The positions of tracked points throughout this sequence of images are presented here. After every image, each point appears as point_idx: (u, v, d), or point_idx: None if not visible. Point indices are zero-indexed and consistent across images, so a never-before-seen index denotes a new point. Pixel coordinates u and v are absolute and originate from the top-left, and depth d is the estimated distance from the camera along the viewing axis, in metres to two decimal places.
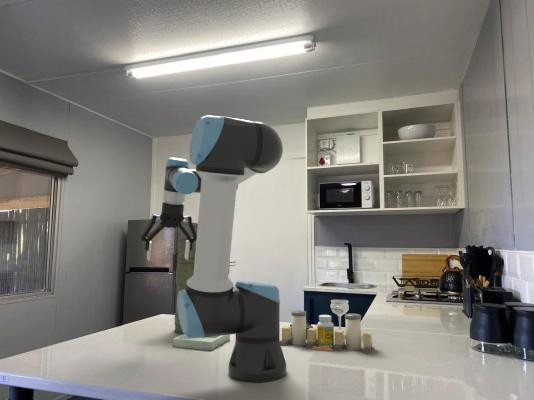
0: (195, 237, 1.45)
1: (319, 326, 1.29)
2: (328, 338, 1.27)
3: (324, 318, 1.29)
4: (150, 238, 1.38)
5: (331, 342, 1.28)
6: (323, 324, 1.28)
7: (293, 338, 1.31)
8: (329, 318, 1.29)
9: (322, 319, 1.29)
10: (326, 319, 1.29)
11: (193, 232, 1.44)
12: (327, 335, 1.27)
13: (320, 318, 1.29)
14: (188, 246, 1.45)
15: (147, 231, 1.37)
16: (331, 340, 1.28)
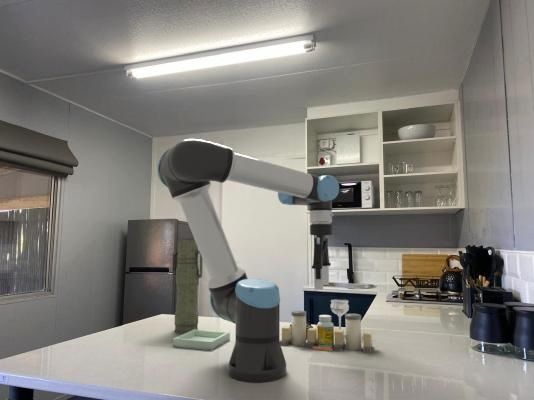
0: None
1: (319, 326, 1.29)
2: (328, 338, 1.27)
3: (324, 318, 1.29)
4: None
5: (331, 342, 1.28)
6: (323, 324, 1.28)
7: (293, 338, 1.31)
8: (329, 318, 1.29)
9: (322, 319, 1.29)
10: (326, 319, 1.29)
11: (314, 256, 1.26)
12: (327, 335, 1.27)
13: (320, 318, 1.29)
14: None
15: None
16: (331, 340, 1.28)
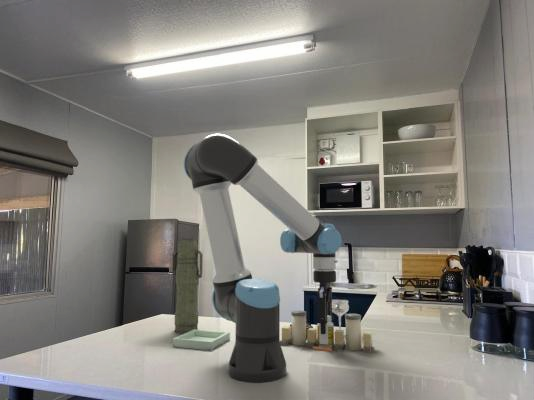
0: None
1: None
2: (328, 338, 1.27)
3: None
4: None
5: (331, 342, 1.28)
6: None
7: (293, 338, 1.31)
8: (329, 318, 1.29)
9: None
10: None
11: (318, 310, 1.26)
12: None
13: None
14: None
15: None
16: (331, 340, 1.28)
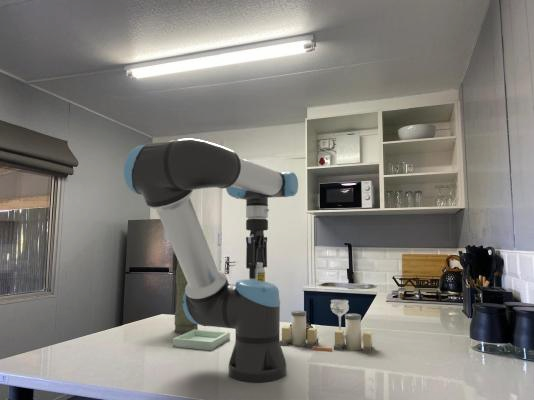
0: None
1: None
2: None
3: None
4: None
5: None
6: None
7: (293, 338, 1.31)
8: (260, 264, 1.33)
9: None
10: None
11: None
12: None
13: None
14: None
15: None
16: None
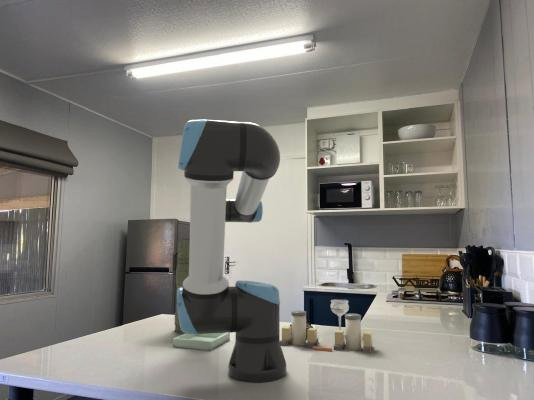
0: None
1: None
2: None
3: None
4: None
5: None
6: None
7: (293, 338, 1.31)
8: None
9: None
10: None
11: None
12: None
13: None
14: None
15: None
16: None
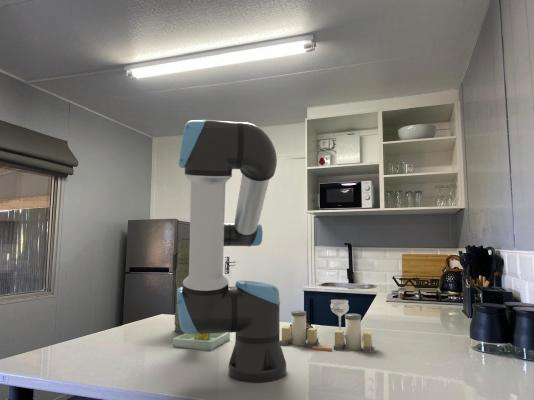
0: None
1: None
2: (202, 334, 1.31)
3: None
4: None
5: (205, 337, 1.31)
6: None
7: (293, 338, 1.31)
8: None
9: None
10: None
11: None
12: None
13: None
14: None
15: None
16: (205, 335, 1.31)
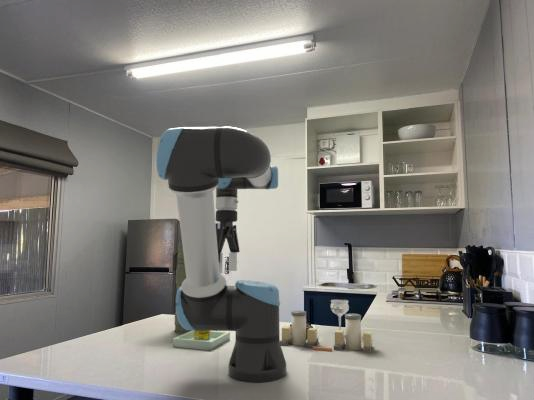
0: None
1: None
2: (202, 334, 1.31)
3: None
4: None
5: (205, 338, 1.31)
6: None
7: (293, 338, 1.31)
8: None
9: None
10: None
11: None
12: (201, 331, 1.31)
13: None
14: None
15: None
16: (205, 335, 1.31)
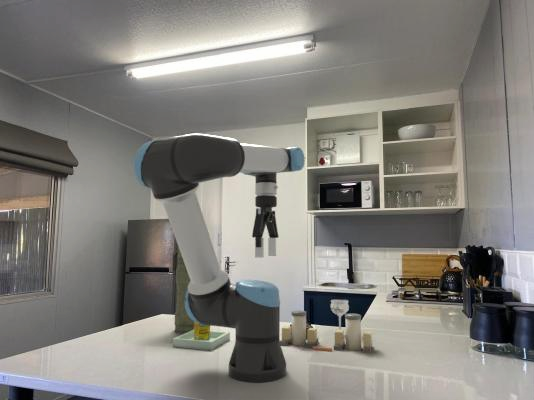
0: None
1: (195, 322, 1.32)
2: (202, 334, 1.31)
3: None
4: None
5: (205, 337, 1.31)
6: None
7: (293, 338, 1.31)
8: None
9: None
10: None
11: None
12: (201, 331, 1.31)
13: None
14: None
15: None
16: (205, 335, 1.31)
